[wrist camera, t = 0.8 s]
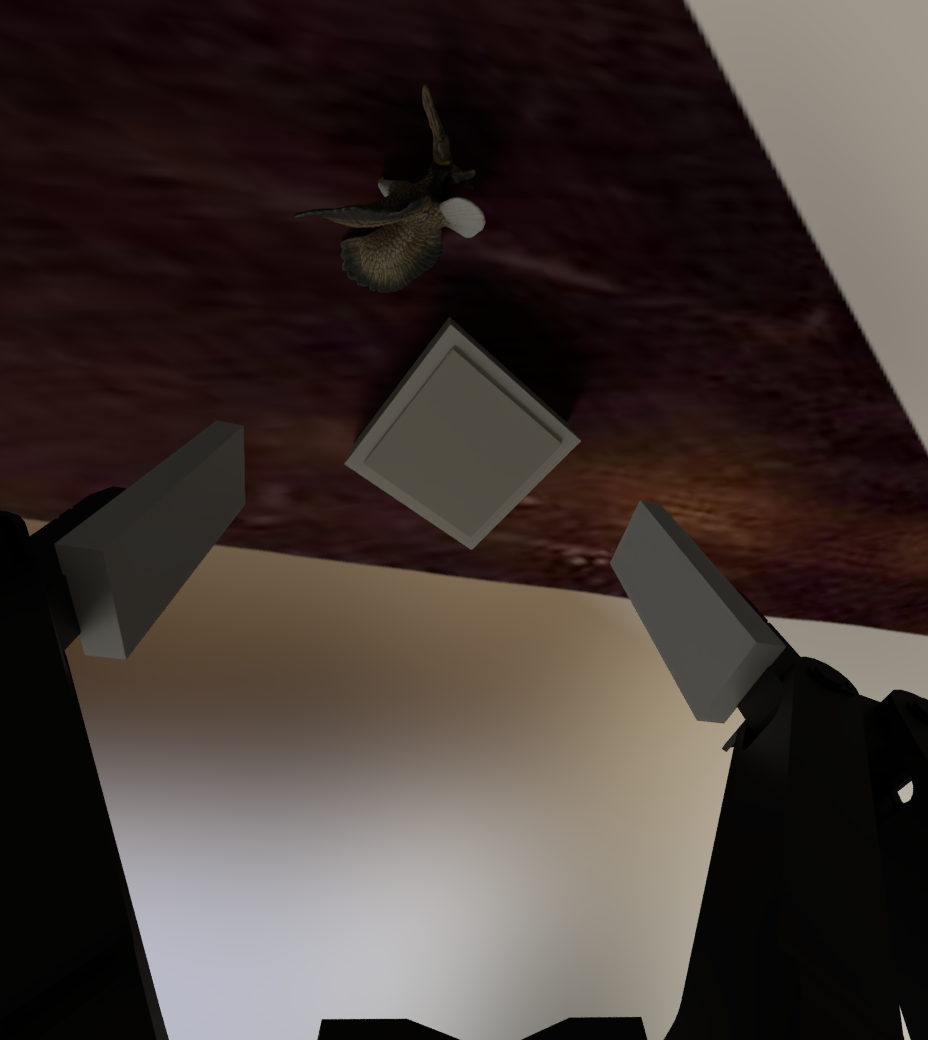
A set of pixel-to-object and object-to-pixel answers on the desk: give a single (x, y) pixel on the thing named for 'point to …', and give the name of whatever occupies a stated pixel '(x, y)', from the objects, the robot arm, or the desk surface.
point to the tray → (461, 438)
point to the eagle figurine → (407, 219)
